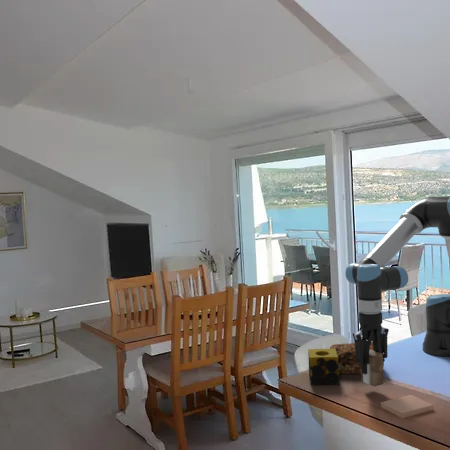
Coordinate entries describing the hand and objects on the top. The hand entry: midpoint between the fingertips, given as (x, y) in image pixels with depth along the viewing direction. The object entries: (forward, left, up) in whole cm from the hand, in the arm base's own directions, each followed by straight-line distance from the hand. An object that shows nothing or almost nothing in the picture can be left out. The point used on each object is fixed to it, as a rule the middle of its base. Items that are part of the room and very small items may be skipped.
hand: (372, 381), depth 167 cm
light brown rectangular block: (0, 0, 0) cm, 0 cm away
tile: (0, +11, -3) cm, 11 cm away
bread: (-9, -19, -4) cm, 22 cm away
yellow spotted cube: (+7, -17, -4) cm, 19 cm away
